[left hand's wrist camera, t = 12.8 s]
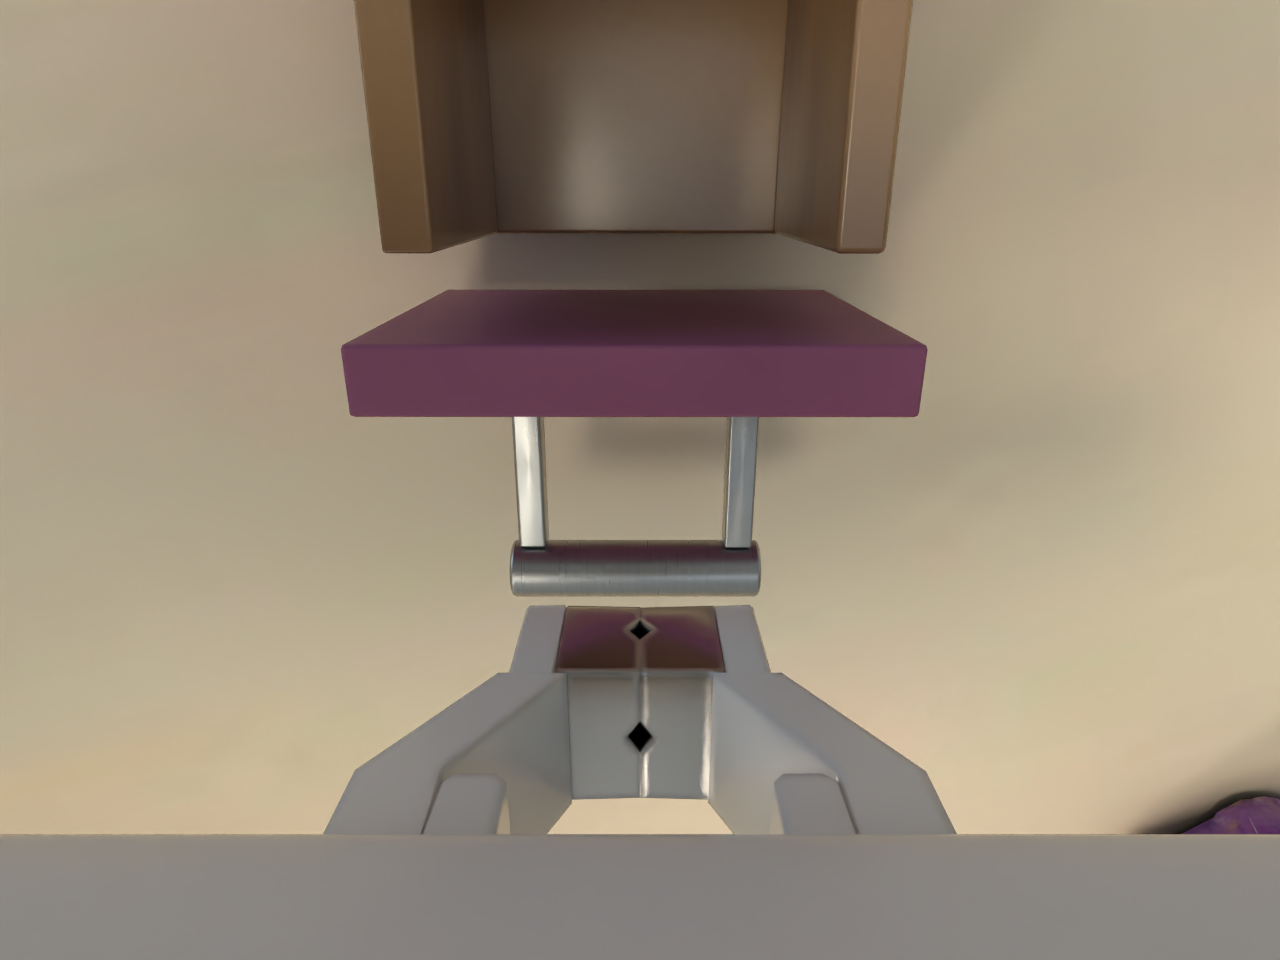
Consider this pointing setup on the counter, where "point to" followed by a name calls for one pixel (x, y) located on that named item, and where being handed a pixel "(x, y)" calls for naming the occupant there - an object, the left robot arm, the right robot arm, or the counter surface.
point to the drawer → (633, 203)
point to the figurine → (1244, 818)
